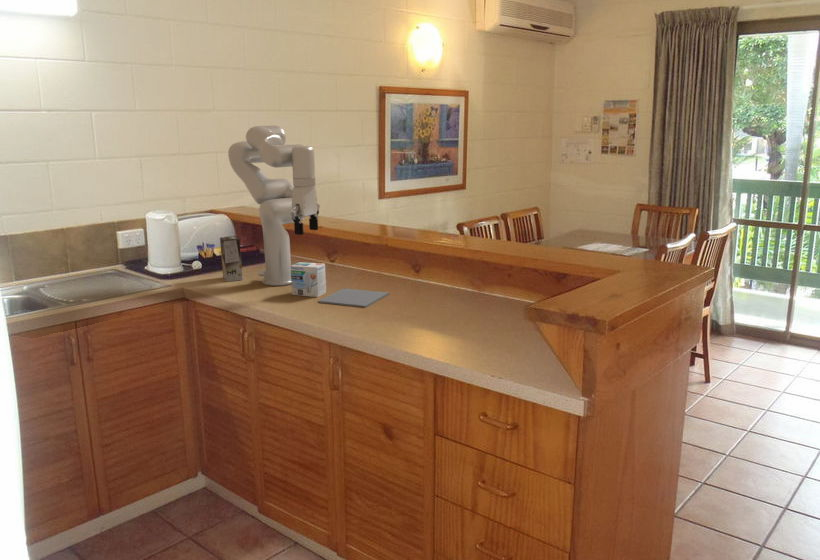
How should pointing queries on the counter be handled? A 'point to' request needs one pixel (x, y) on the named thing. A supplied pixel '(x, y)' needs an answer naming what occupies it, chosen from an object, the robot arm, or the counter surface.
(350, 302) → the mat
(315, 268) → the light bulb box
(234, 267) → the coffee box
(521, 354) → the counter surface
